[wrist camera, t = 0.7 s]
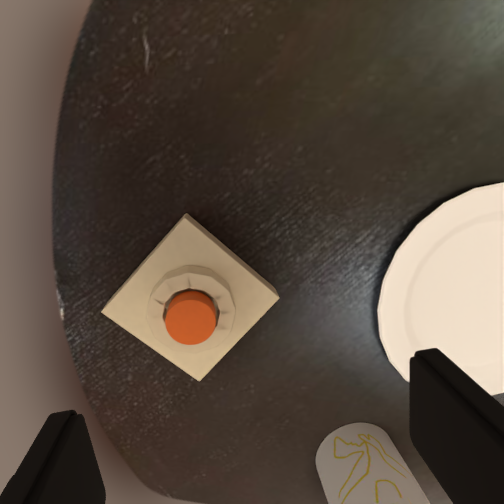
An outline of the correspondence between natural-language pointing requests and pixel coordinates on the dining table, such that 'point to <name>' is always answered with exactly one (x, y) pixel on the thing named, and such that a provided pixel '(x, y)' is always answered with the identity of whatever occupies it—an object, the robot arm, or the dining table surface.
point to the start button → (191, 318)
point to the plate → (450, 288)
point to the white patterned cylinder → (365, 468)
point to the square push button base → (191, 279)
